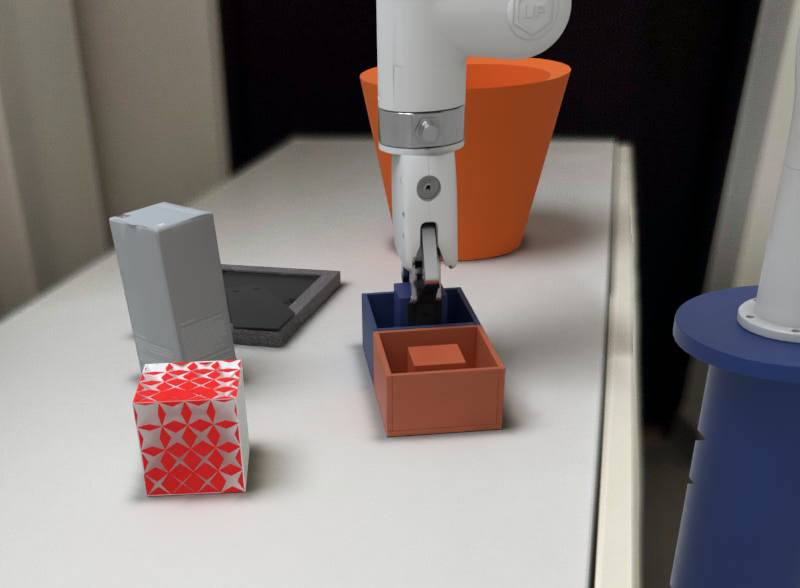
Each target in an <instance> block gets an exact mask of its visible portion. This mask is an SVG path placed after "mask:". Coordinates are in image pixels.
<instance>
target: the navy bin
mask: <svg viewBox="0 0 800 588" xmlns="http://www.w3.org/2000/svg"><path fill="white" fill-rule="evenodd" d="M443 288H444V290H445V292H446V294H447V324H438V325H423V326H408V327H394V290H393V291H392V290H391V291H390V290H389V291H380V292H379V291H378V292H363V293H361V333H362V334H361V335H362V338H361V339H362V350H363V353H364V357H365V362H366V364H367V368H368V372H369V375H370V379H371V383H372V386H373V388H374V367H373V331H378V332H379V331H388V330H403V329H418V328H434V327H449V326H464V325H479V324H481V325H482V323H481V322H480V320H479V318H478V316H477V314H476V312H475V311H474V309H473V307H472V305H471V303H470V302H469V299H468V298H467V296H466V295H465V292H464V290H463V288H462V287H461V286H456V287H453V286H452V287H443Z"/></svg>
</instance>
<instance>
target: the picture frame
mask: <svg viewBox="0 0 800 588" xmlns="http://www.w3.org/2000/svg"><path fill="white" fill-rule="evenodd" d="M221 268H222V274H223V281H224V287H225V293H226V299H227V305H228V312H229V318H230V324H231V331H232V337H233V343H234V345H235V344H236V345H247V346H259V347H272V348H280V347H281V346H282V345H283V344H284V343H285V342H286V341H287V340H288V339H289V338H290V337H291V336H292V335H293V334H294V332H296V331H297V329H299V328H300V327H301V326H302V325H303V324H304V323H305V322H306V321H307V320H308V318H309V317H311V316H312V314H314V312H316V310H317V309H319V307H320V306H321V305H322V304H323V303H325V301H326V300H327V299H328V298H329V297H330V296H331V295H332V294H333V293H334V292H335V291H336V290H337V289H338V288H339V287H340V286H341V285H342V282H341V280H342V279H341V271H340V270H328V269H314V268H313V269H311V268H297V267H296V268H293V267H277V266H261V265H259V266H258V265H244V264H225V263H221Z"/></svg>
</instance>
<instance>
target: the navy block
mask: <svg viewBox="0 0 800 588" xmlns="http://www.w3.org/2000/svg"><path fill="white" fill-rule="evenodd" d="M417 283H418V282H417ZM444 288H445V287H444V286H443V284H442V283H441V300H442V324H447V294H446V292H445V290H444ZM393 291H394V327H407V301H410V282H406V283H402V282H394V283H393Z"/></svg>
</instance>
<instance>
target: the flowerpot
mask: <svg viewBox="0 0 800 588" xmlns="http://www.w3.org/2000/svg"><path fill="white" fill-rule="evenodd" d="M571 71H572V68H571V67H570V65H568V64H566V63H565V62H564V63H563V62H561V61H556V60H551V59H546V58H538V57H537V58H536V57H530V58H526V59H518V60H509V59H497V58H483V57H468V58H467V63H466V94H465V135H464V146H463V147H462V148H460V149H458V150H455V151H454V154H455V164H456V180H457V237H458V261H476V260H484V259H490V258H496V257H499V256H503V255H506V254H509V253H512V252H513V251H515V250H517V249H518V248H520V246H521V244H522V241H523V238H524V234H525V231H526V227H527V223H528V221H529V217H530V214H531V211H532V206H533V202H534V200H535V196H536V192H537V189H538V186H539V182H540V179H541V175H542V172H543V168H544V165H545V162H546V158H547V155H548V151H549V148H550V145H551V141H552V137H553V134H554V130H555V126H556V123H557V119H558V116H559V112H560V110H561V107H562V102H563V99H564V96H565V92H566V88H567V86H568V82H569V78H570V76H571V75H570V74H571ZM359 80H360V85H361V89H362V94H363V98H364V102H365V107H366V111H367V116H368V121H369V126H370V129H371V134H372V139H373V143H374V147H375V152H376V157H377V160H378V165H379V170H380V175H381V179H382V183H383V184H382V185H383V188H384V193H385V197H386V202H387V206H388V210H389V214H390V219H391V224H392V225H393V218H392V154H390V153H386V152H384V151H381V150H379V136H378V67H377V66H375V67H372V68H369V69H366V70H365V71H363V72H361V73H360V74H359ZM440 261H443V260H442V258H441V256H440Z"/></svg>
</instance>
